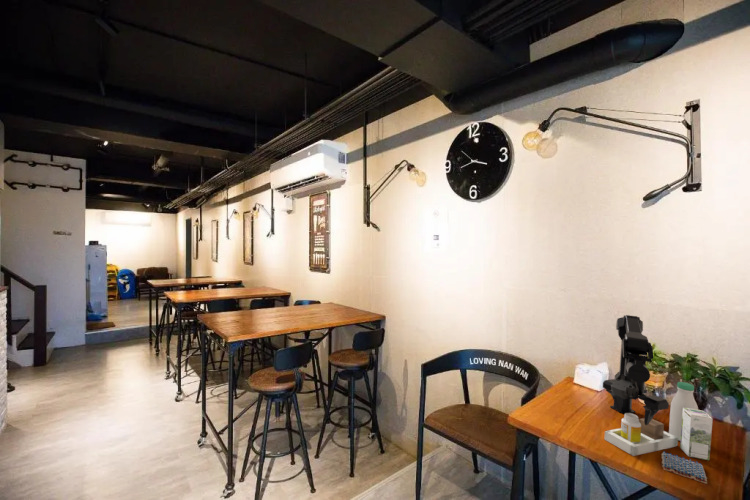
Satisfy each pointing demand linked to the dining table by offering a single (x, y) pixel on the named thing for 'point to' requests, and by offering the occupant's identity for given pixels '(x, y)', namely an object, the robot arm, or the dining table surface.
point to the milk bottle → (680, 407)
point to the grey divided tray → (645, 444)
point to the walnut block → (652, 429)
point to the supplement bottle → (631, 428)
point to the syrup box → (696, 433)
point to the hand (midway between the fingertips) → (632, 418)
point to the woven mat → (683, 467)
